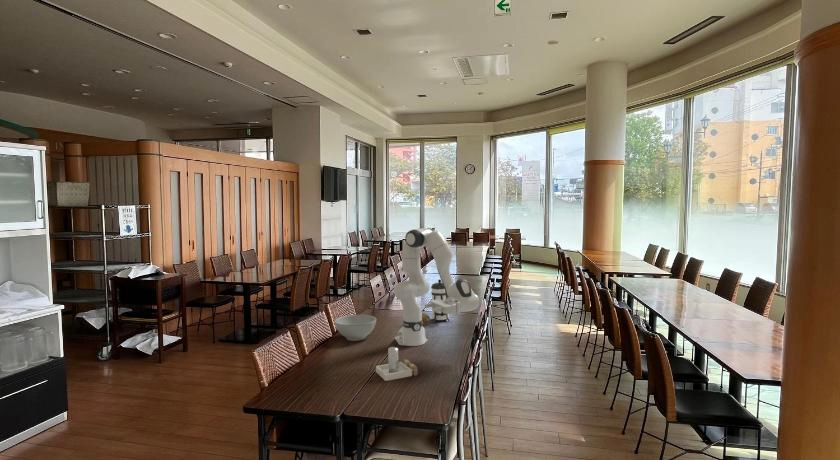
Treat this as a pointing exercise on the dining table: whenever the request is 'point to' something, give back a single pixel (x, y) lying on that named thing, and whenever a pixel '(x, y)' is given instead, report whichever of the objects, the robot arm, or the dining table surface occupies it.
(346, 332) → the decorative bowl
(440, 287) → the coffee press
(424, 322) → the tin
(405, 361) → the tan wavy block
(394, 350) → the steel canister
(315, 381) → the dining table surface
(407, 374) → the tray
